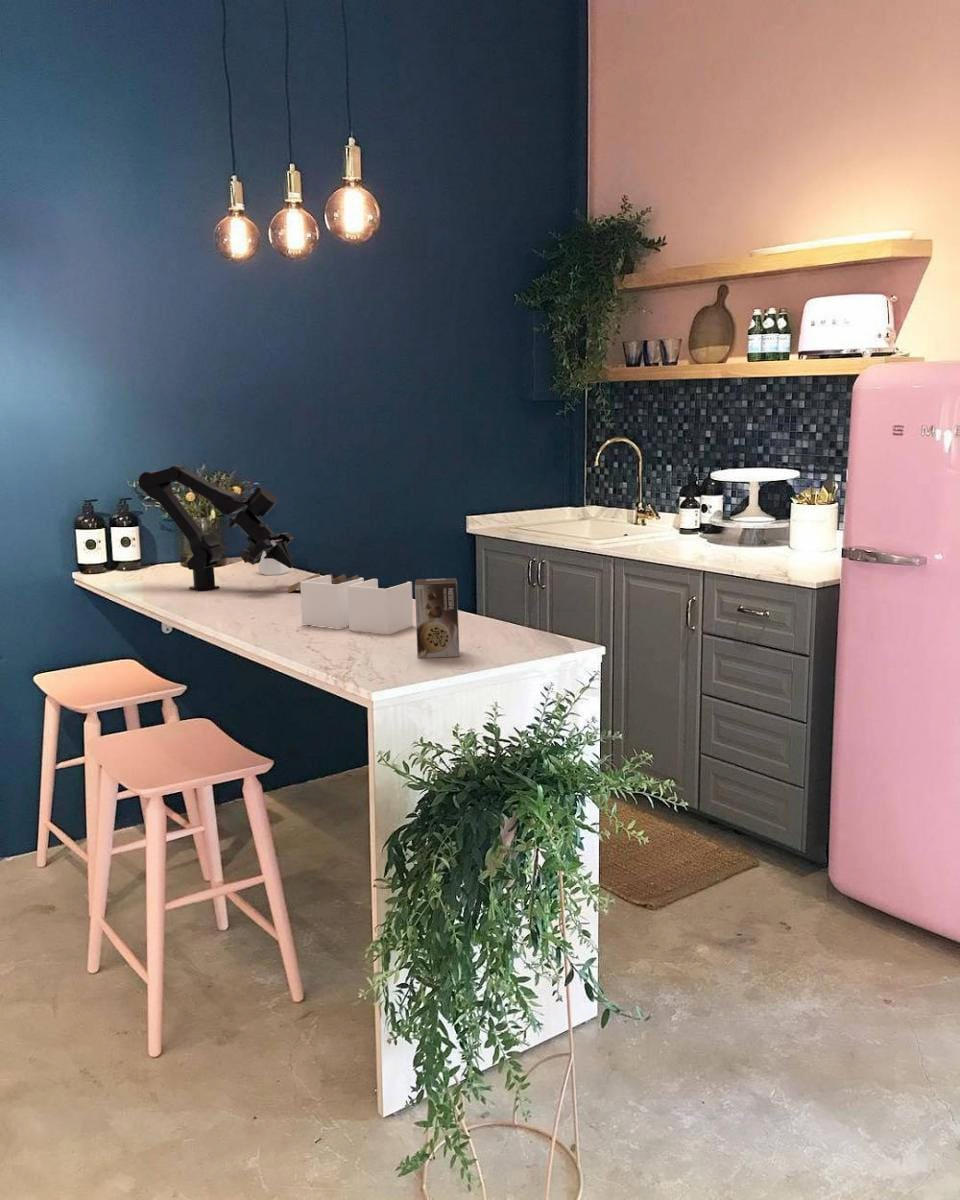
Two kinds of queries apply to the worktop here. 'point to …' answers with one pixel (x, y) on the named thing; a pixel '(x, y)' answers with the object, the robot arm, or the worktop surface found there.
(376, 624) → the white open box
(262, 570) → the jar
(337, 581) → the domino
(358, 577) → the domino
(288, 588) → the domino
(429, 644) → the coffee box
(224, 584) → the worktop surface
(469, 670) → the worktop surface
